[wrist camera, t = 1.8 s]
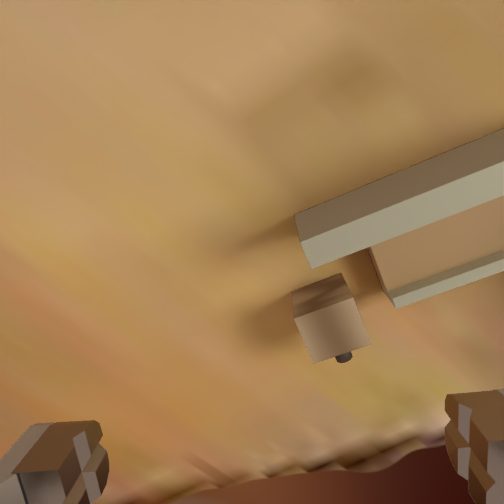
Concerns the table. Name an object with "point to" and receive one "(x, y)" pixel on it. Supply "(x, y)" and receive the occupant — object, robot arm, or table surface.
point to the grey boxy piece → (419, 223)
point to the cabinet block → (329, 319)
